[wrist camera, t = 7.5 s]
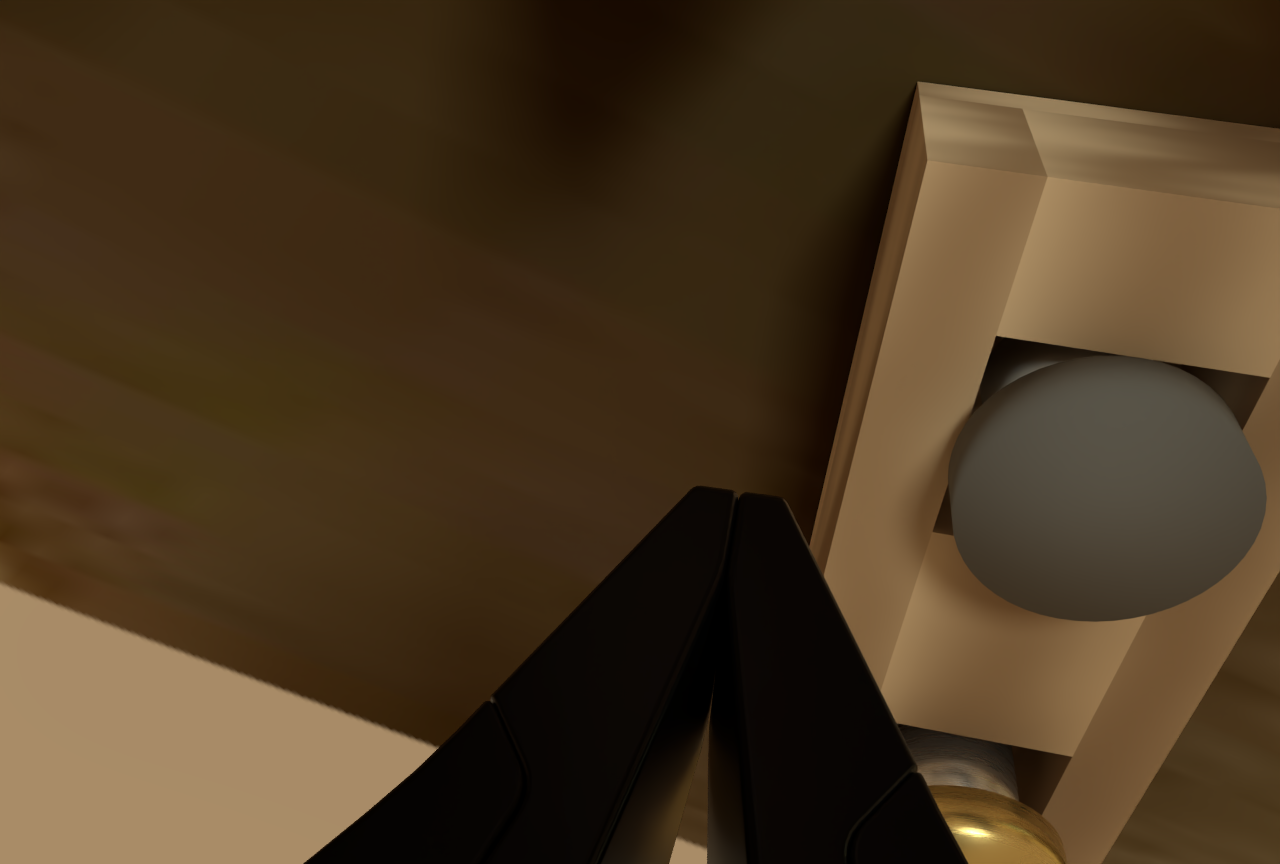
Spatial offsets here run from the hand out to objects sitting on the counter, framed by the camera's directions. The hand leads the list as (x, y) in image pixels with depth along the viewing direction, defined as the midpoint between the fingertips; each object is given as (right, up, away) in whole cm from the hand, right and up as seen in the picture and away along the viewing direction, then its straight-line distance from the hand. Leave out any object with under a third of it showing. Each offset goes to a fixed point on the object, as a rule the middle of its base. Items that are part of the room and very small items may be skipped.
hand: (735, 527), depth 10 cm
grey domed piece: (+8, +2, +11) cm, 13 cm away
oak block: (+7, -1, +15) cm, 17 cm away
